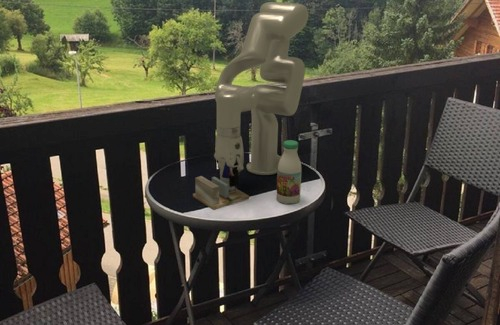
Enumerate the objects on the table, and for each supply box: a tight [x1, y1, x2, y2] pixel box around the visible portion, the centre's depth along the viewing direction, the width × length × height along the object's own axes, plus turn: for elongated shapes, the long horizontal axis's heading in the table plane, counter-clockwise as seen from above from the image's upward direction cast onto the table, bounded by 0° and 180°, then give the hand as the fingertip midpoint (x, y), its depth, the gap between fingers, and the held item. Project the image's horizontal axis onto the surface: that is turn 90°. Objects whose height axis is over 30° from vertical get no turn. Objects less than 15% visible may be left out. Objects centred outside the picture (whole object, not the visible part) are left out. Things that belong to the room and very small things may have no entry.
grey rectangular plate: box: [211, 176, 232, 201], centre depth 177 cm, size 1×10×5 cm, turn 38°
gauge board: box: [192, 175, 250, 211], centre depth 178 cm, size 14×12×7 cm
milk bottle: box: [275, 139, 302, 204], centre depth 175 cm, size 8×8×20 cm
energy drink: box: [220, 157, 237, 193], centre depth 178 cm, size 5×5×12 cm
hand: (228, 182), depth 179 cm, fingers closed on energy drink, 5 cm apart
